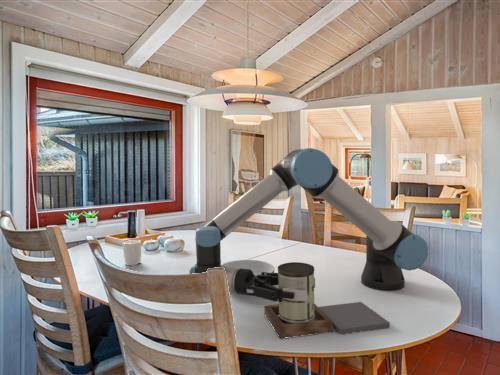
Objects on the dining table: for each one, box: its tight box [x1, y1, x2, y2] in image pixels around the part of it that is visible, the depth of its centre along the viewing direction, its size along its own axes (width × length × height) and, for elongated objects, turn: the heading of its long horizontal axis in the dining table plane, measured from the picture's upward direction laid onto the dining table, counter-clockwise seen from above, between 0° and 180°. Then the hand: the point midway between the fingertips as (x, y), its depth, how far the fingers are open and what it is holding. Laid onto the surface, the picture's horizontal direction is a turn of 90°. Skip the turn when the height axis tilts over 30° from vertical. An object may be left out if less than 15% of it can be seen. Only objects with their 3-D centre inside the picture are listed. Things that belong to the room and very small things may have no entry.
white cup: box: [122, 239, 142, 266], centre depth 167 cm, size 8×8×10 cm
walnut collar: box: [263, 303, 334, 339], centre depth 106 cm, size 15×15×3 cm
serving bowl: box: [221, 259, 276, 276], centre depth 136 cm, size 21×21×7 cm
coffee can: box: [277, 261, 315, 324], centre depth 105 cm, size 10×10×14 cm
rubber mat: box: [318, 301, 390, 335], centre depth 107 cm, size 15×15×2 cm
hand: (311, 289), depth 103 cm, fingers closed on coffee can, 10 cm apart
